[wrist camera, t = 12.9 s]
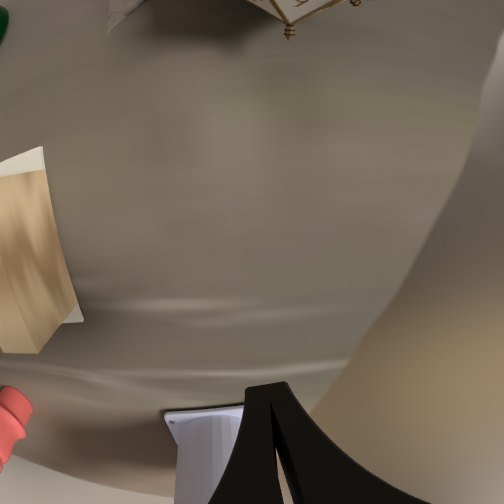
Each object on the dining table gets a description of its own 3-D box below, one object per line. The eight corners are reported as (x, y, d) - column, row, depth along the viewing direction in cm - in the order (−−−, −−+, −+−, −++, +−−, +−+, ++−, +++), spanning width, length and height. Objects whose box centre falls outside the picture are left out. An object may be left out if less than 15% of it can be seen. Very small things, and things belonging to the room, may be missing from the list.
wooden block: (78, 302, 18) (38, 353, 12) (40, 306, 18) (-2, 352, 12) (45, 169, 15) (-16, 180, 9) (8, 182, 15) (-52, 198, 9)
